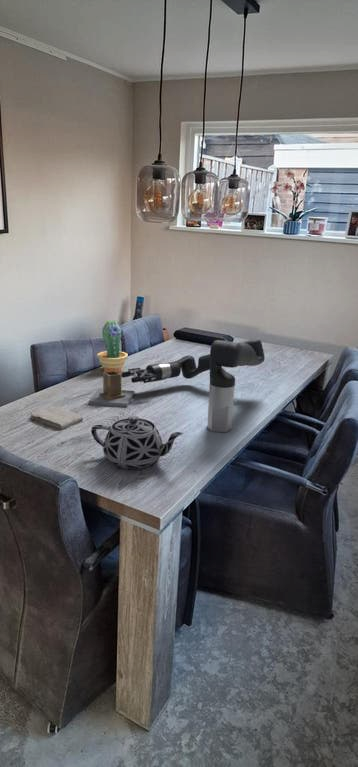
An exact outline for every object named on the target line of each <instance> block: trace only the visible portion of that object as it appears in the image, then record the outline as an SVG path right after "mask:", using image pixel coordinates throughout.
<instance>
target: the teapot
mask: <svg viewBox="0 0 358 767" xmlns="http://www.w3.org/2000/svg"><path fill="white" fill-rule="evenodd" d="M97 430H107V431H108V432H107V434H106V436H105V439H104V441H103V439H102V438H100V436H99V435H98V432H97ZM90 433H91V436H92V438H93V440H95V442H96V443H98V445H100V446H101V447H102V452H103V454H104V457H105V458H106V459H107V460H108V461H109V462H110V463H111V464H113V465H114V466H116V467H118V468H121V469H126V470H141V469H145V468H148V467H150V466H152V465H153V464H154V463H155V462H157V461H158V460H159V459H160V458H161V457H164V456H167V455H168V454H169V453H170V452H171V450H172V448H173V445H174V442H175V440H176V439H177V438H178V437H179V436H182V435H184V432H180V431H176V432H172V433H171V434H170V435H169V437H168V439H167V441H166V442H165V443H163V440H162V437H161V435H160V432H159V430H158V428H157V426H156V424H155V423H154V422H152V421H151V420H148V419H144V418H140V417H139V416H136V415H131V416H128V418H122V419H120V420H119V419H118V420H116V421H114V422H113V423H112V424H111V425H106V424H95V425H93V426H91V428H90Z"/></svg>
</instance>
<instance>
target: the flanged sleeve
mask: <svg viewBox="0 0 358 767" xmlns="http://www.w3.org/2000/svg"><path fill="white" fill-rule="evenodd" d="M102 387H103V388H102V389H103V392H100V395H101V396H102V397H104V398H105V399H107V400H113V399H118V398H123V397H125V394H123V393H121V390H122V377H121V373H120V372H117V371H109V372H105V371H103V372H102Z"/></svg>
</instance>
